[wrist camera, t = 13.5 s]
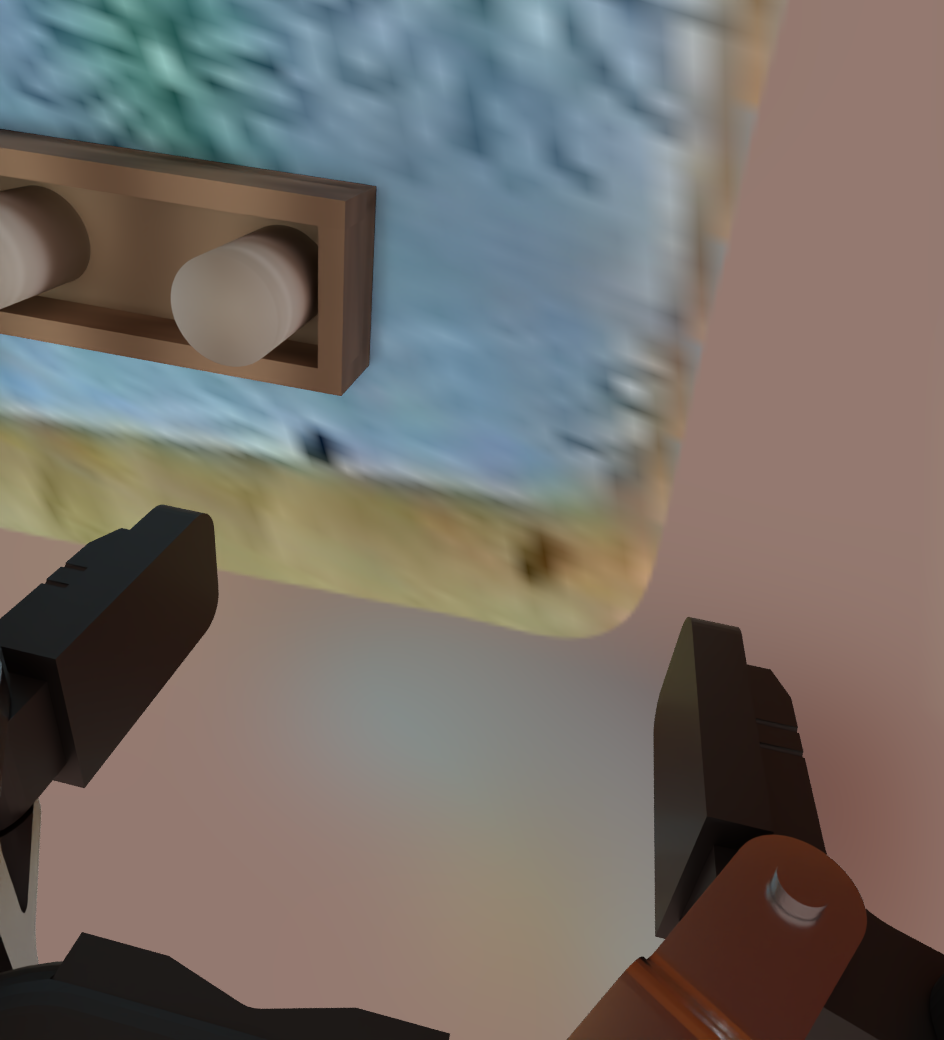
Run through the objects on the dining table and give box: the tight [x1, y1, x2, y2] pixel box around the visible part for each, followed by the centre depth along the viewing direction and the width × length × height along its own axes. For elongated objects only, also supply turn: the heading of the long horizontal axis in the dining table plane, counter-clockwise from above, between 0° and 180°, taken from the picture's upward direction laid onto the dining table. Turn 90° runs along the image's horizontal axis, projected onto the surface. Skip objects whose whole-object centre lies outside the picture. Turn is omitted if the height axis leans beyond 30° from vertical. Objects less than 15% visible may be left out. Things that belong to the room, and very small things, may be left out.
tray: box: [0, 129, 376, 396], centre depth 25 cm, size 14×6×5 cm, turn 83°
